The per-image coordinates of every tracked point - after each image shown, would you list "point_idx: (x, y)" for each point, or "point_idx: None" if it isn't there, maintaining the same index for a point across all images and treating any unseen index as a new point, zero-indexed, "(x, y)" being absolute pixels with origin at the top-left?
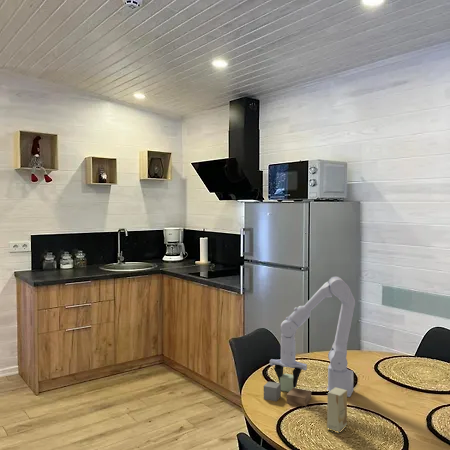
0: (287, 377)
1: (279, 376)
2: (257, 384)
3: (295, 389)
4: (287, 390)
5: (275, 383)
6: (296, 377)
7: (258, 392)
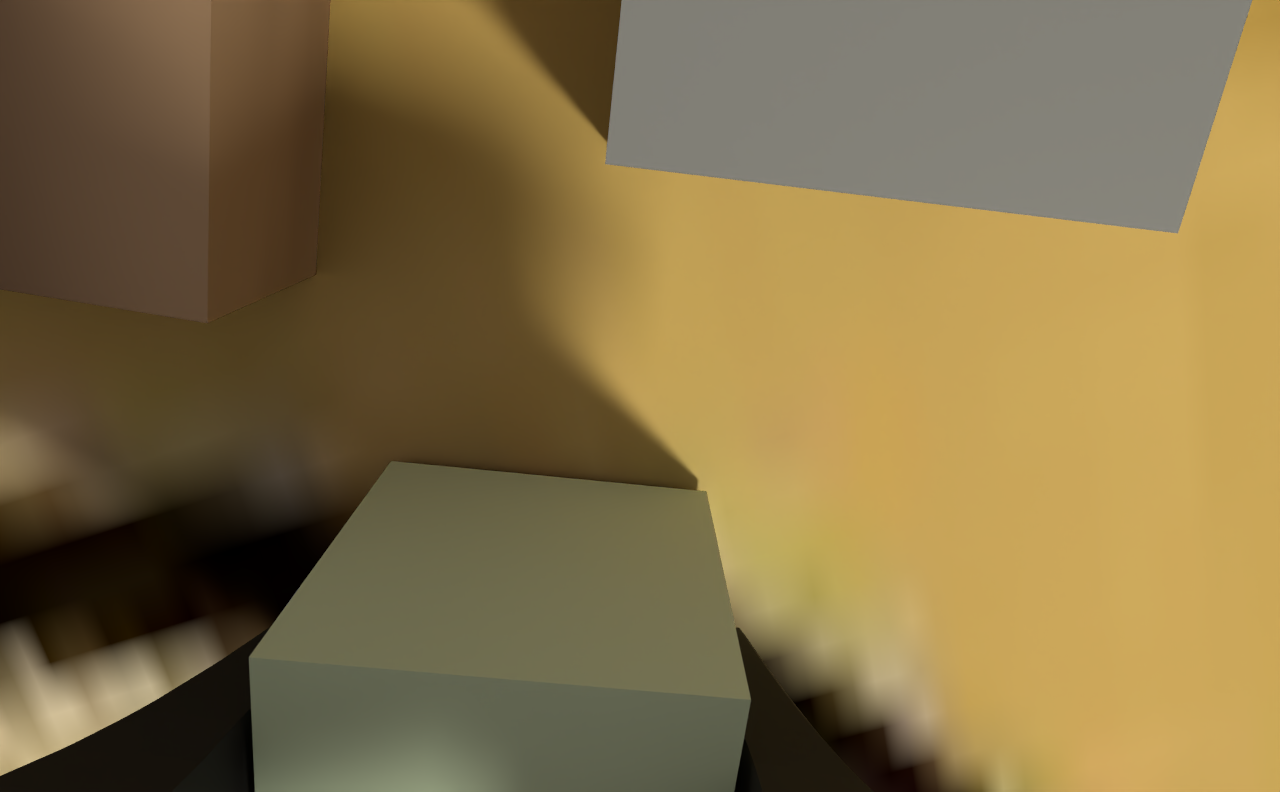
0: (483, 780)
1: (785, 773)
2: (1265, 656)
3: (82, 190)
4: (514, 485)
5: (836, 91)
6: (51, 759)
7: (1226, 213)
